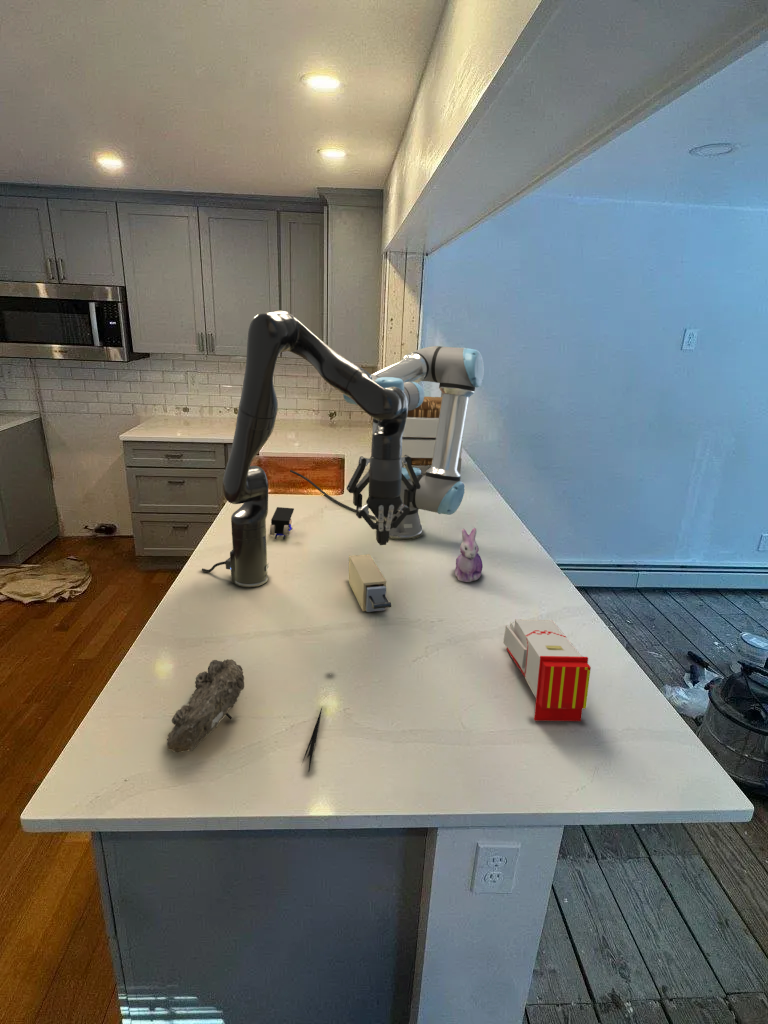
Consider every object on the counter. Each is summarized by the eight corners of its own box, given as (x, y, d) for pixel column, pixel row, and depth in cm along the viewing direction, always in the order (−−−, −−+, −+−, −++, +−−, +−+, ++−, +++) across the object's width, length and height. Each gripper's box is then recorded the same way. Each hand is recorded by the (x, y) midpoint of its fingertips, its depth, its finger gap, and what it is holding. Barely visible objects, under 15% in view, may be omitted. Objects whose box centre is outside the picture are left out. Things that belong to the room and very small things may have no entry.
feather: (331, 679, 122) (336, 673, 122) (307, 777, 96) (313, 769, 95) (324, 675, 122) (329, 669, 121) (298, 772, 95) (304, 764, 95)
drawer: (391, 621, 142) (392, 598, 140) (372, 623, 141) (373, 600, 139) (369, 582, 162) (370, 561, 160) (352, 583, 161) (353, 562, 159)
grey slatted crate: (382, 463, 289) (386, 382, 275) (445, 464, 293) (451, 384, 279) (390, 482, 257) (394, 392, 243) (460, 483, 261) (468, 394, 247)
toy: (549, 604, 136) (599, 663, 106) (544, 656, 138) (591, 727, 109) (499, 603, 135) (535, 662, 106) (495, 655, 138) (529, 726, 109)
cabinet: (385, 609, 150) (386, 581, 147) (362, 611, 148) (363, 583, 145) (368, 579, 165) (369, 554, 162) (348, 581, 164) (349, 555, 161)
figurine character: (289, 545, 189) (295, 524, 202) (288, 525, 186) (294, 505, 199) (269, 545, 189) (276, 524, 202) (268, 525, 185) (275, 505, 199)
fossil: (192, 660, 117) (244, 628, 112) (224, 691, 120) (276, 661, 115) (142, 746, 98) (202, 712, 93) (182, 779, 101) (242, 748, 96)
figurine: (465, 585, 164) (469, 538, 159) (445, 571, 172) (449, 525, 167) (491, 580, 168) (496, 533, 163) (471, 566, 176) (475, 521, 171)
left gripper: (361, 481, 126) (359, 552, 132) (417, 478, 130) (413, 548, 136) (353, 471, 133) (352, 539, 139) (407, 469, 137) (403, 536, 142)
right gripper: (343, 443, 141) (341, 523, 148) (436, 440, 148) (430, 516, 155) (336, 436, 147) (335, 513, 154) (425, 434, 155) (419, 507, 162)
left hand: (382, 543), depth 137 cm, fingers closed
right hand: (382, 515), depth 155 cm, fingers open, 13 cm apart
